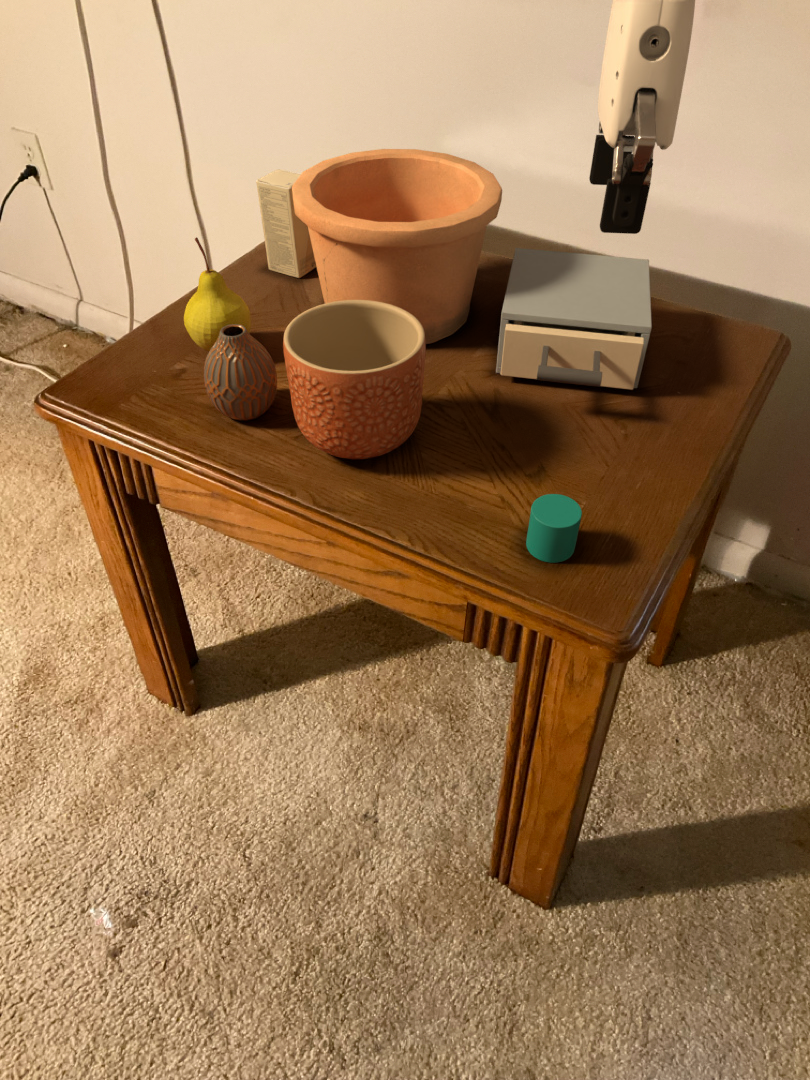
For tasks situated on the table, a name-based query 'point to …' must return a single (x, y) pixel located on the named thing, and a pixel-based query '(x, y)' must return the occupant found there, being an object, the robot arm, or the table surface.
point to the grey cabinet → (578, 293)
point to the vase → (240, 374)
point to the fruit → (213, 308)
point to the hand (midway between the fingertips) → (612, 206)
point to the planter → (355, 376)
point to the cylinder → (553, 528)
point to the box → (284, 226)
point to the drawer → (571, 354)
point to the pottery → (399, 230)
